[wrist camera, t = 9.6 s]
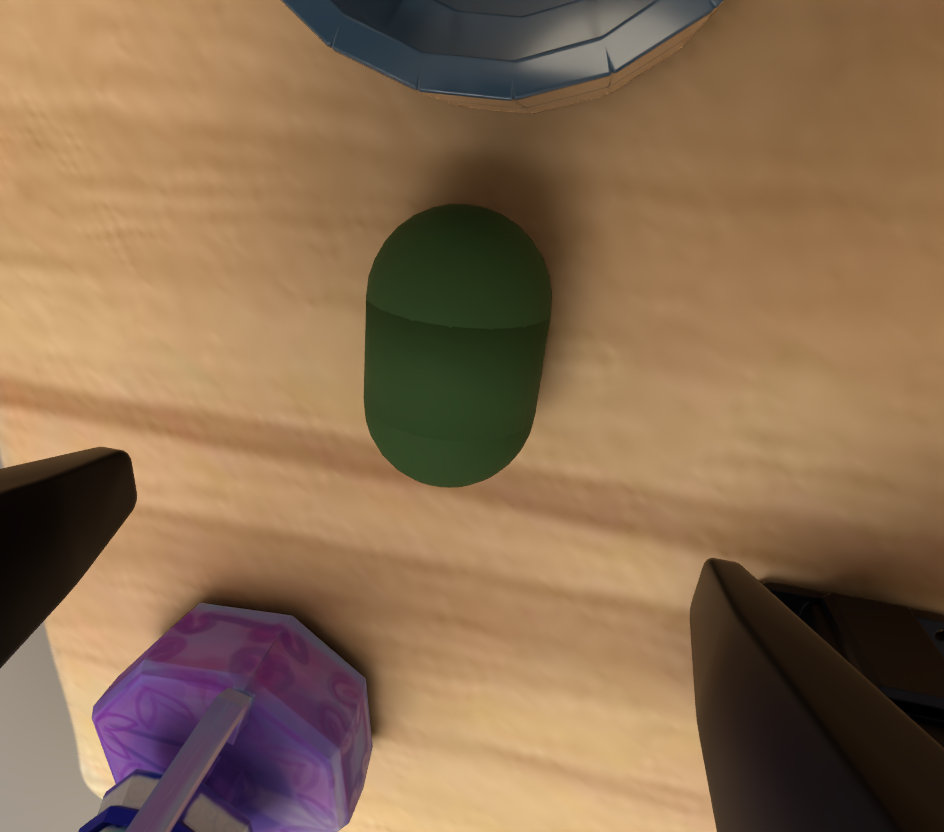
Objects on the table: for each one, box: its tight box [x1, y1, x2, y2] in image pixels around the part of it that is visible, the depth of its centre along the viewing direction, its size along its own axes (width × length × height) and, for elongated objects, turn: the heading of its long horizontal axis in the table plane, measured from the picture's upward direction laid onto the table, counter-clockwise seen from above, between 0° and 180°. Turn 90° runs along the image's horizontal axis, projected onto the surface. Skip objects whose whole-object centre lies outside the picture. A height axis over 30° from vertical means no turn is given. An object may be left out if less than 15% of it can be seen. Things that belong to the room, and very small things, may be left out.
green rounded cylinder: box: [364, 204, 552, 487], centre depth 17 cm, size 8×5×5 cm, turn 174°
